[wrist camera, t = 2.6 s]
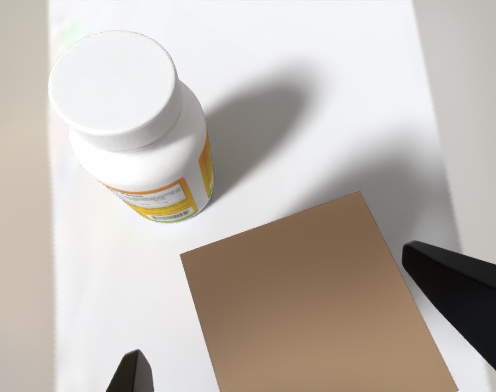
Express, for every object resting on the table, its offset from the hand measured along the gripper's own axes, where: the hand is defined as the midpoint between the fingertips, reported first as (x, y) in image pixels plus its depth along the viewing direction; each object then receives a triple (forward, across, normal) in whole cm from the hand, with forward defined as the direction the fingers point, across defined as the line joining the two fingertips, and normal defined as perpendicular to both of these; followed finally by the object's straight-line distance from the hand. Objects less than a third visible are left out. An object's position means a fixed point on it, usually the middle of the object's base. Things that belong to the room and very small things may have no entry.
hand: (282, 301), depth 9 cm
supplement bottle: (+11, +3, 0) cm, 12 cm away
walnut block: (+5, 0, +6) cm, 8 cm away
